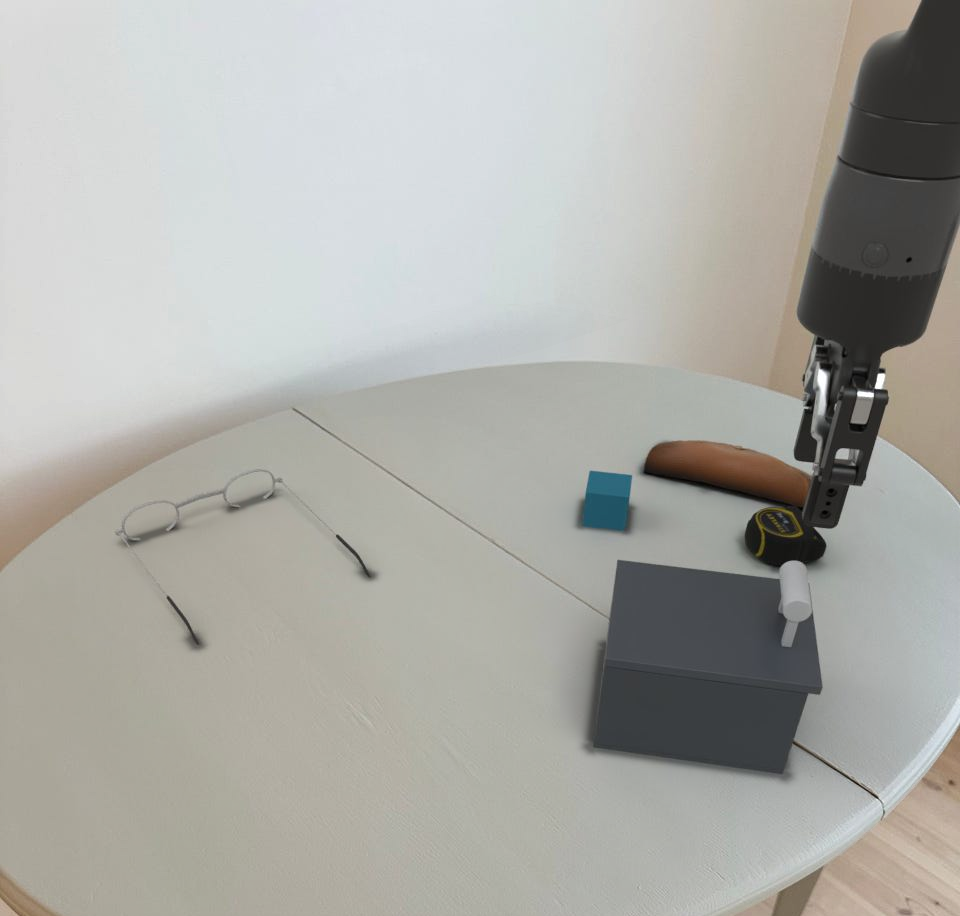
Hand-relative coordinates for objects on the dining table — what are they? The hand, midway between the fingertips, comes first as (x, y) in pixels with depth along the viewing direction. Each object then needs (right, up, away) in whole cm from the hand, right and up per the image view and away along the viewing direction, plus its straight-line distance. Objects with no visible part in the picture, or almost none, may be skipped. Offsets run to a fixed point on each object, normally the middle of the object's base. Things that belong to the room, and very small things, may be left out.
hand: (812, 490), depth 67 cm
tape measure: (+8, -1, +33) cm, 34 cm away
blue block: (-10, +2, +36) cm, 38 cm away
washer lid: (-5, -9, +9) cm, 14 cm away
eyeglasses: (-46, -3, +29) cm, 54 cm away
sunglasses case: (+5, +8, +43) cm, 44 cm away
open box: (-5, -16, +15) cm, 22 cm away
